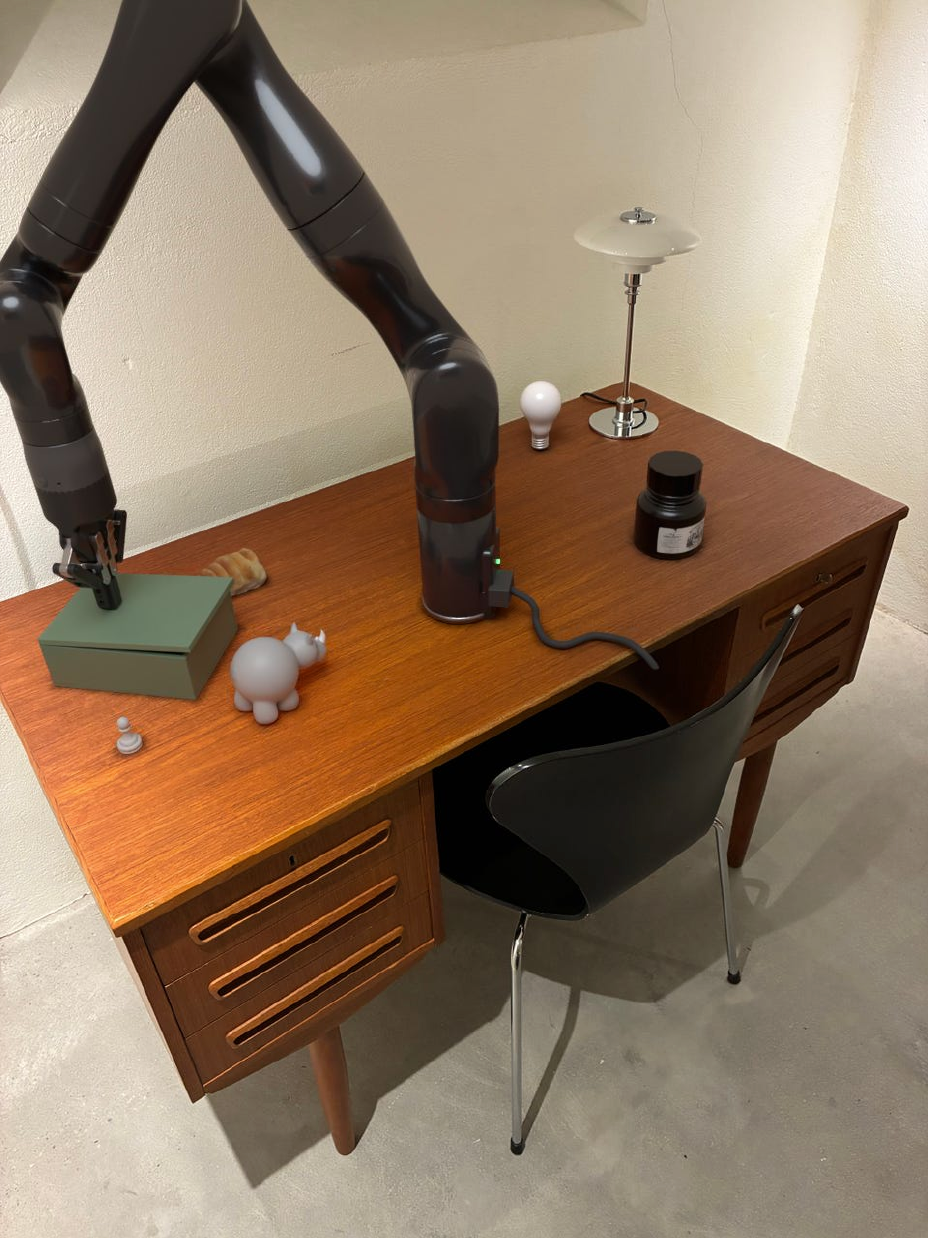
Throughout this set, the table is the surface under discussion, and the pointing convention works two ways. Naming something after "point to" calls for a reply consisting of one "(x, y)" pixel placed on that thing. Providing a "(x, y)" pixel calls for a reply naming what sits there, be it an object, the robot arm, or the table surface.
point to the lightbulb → (540, 410)
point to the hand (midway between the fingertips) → (111, 605)
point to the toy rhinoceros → (273, 672)
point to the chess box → (145, 663)
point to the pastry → (238, 570)
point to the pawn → (127, 738)
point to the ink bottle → (671, 506)
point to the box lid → (141, 614)
